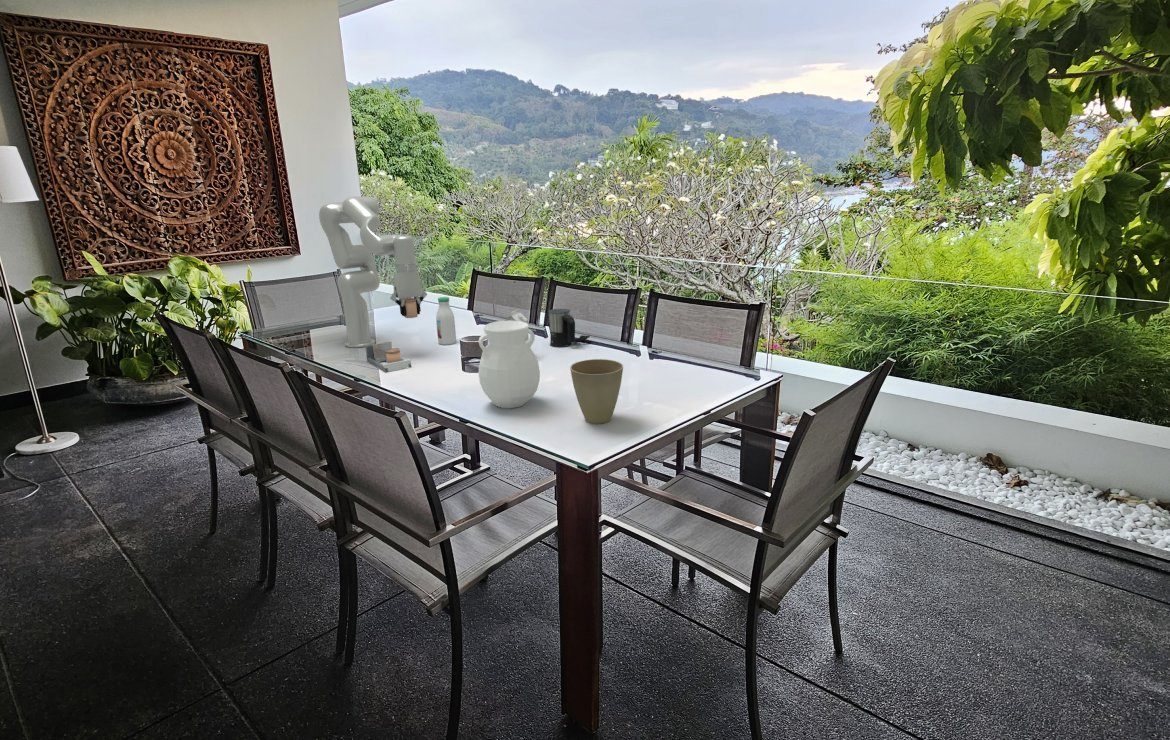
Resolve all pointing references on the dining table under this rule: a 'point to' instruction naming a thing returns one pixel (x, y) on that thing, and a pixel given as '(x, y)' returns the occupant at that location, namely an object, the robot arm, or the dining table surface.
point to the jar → (411, 308)
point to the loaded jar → (393, 355)
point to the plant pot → (597, 387)
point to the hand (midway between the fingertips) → (410, 314)
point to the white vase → (508, 364)
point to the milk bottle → (445, 322)
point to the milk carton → (518, 319)
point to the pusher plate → (381, 350)
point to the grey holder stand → (387, 366)
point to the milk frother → (562, 328)
